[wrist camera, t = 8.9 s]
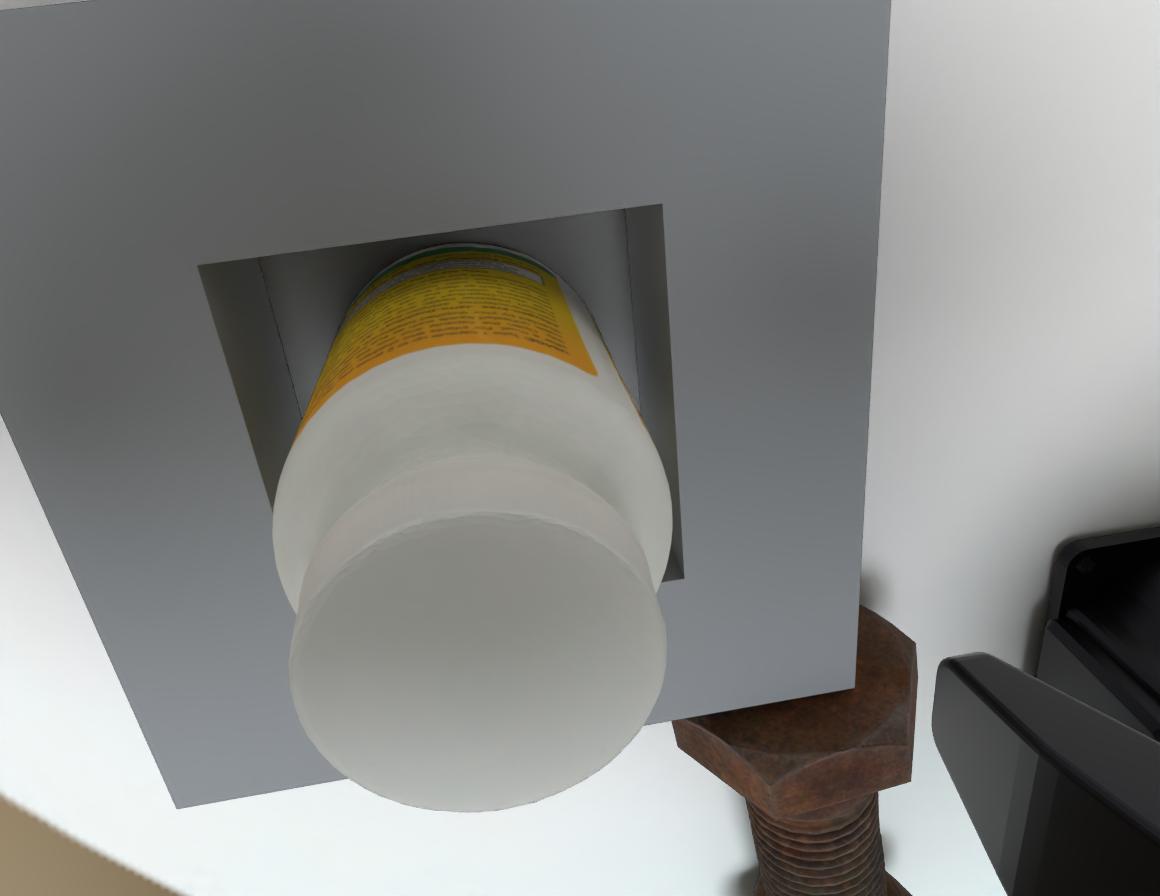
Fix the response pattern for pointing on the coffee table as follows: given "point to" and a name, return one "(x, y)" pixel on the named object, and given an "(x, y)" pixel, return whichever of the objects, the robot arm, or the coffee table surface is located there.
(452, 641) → the supplement bottle
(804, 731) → the bolt
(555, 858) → the coffee table surface
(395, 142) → the socket block
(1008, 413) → the coffee table surface
